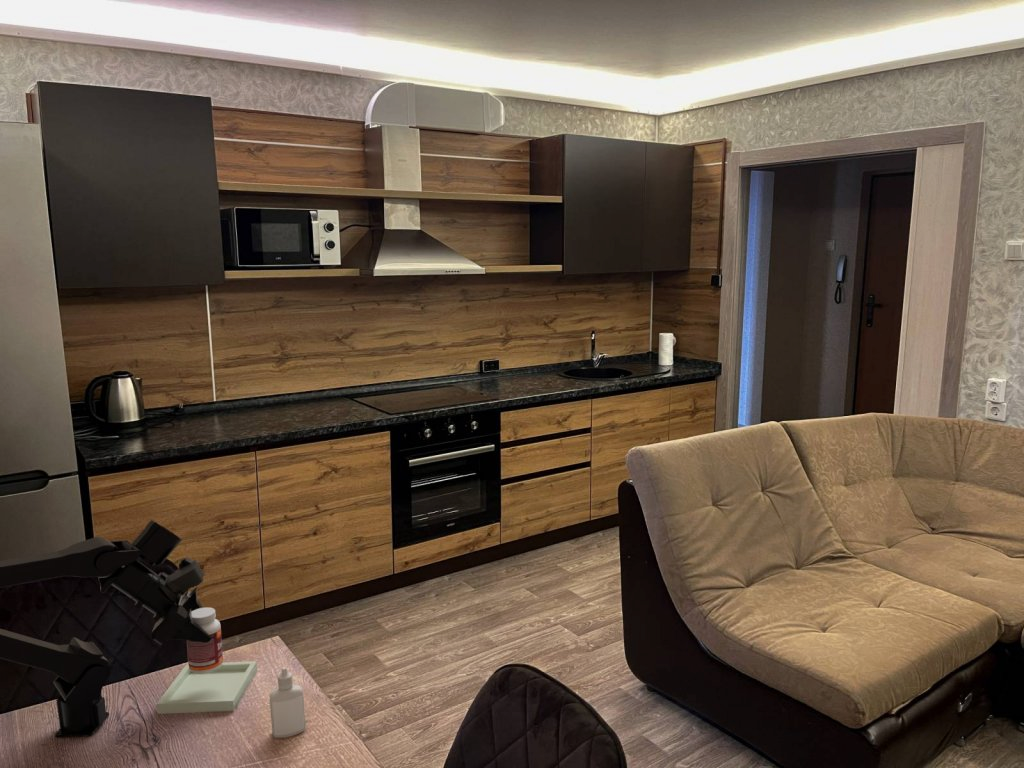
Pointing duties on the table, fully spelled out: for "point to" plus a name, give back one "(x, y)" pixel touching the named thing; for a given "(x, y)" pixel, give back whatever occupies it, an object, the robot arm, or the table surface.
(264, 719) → the table surface
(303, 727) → the eye dropper bottle
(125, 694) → the table surface
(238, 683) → the tray
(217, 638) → the pill bottle
